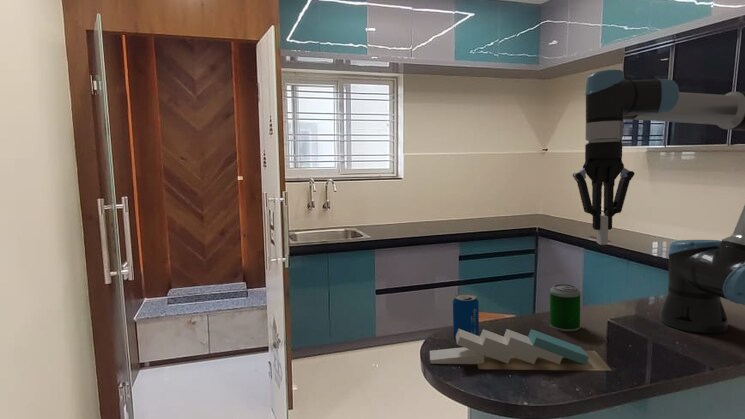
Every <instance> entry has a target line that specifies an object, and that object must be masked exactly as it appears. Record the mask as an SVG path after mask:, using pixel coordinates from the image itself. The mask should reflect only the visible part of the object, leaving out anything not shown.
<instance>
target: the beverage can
mask: <svg viewBox="0 0 745 419" xmlns="http://www.w3.org/2000/svg"><path fill="white" fill-rule="evenodd" d="M477 298H478V296H477V295H475V294H473V293H465V292H463V293H457V294H455V295H454V297H453V299H452V322H453V323H452V324H453V325H452V326H453V339H454V340H456V334H457V332H458V329H461V330H464V331H466V332H469V333H472V334H475V335H477V336H480V321H479V319H480V318H479V317H480V316H479V314H480V313H479V310H480V309H479V300H478V299H477Z"/></svg>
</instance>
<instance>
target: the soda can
mask: <svg viewBox="0 0 745 419" xmlns="http://www.w3.org/2000/svg"><path fill="white" fill-rule="evenodd" d="M549 327H550V328H553V329H554V330H558V331H563V332H573V331H578V330H580V329H581V291H580V289H579V288H578V287H577V286H576V285H572V284H568V283H558V284H554V285H553V286H552V287H551V288H550V289H549Z"/></svg>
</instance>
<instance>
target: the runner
mask: <svg viewBox="0 0 745 419" xmlns="http://www.w3.org/2000/svg"><path fill="white" fill-rule="evenodd" d="M584 351H585V352H586V354H587V355H588V356H589V358H588V361H587V363H586V365H584V364H582V363H579V362H576V361H574V360H571V359H568V358H566V357H563V358H562V360H561V362H560V364H557V363H554V362H551V361H549V360H546V359H543V358H541V357H537V359H536V361H535V364H532V363H529V362H526V361H524V360H521V359H518V358H515V357H513V356H511V358H510V360H509V363H508V364H507V363H504V362H502V361H499V360H496V359H494V358H491V357H488V356H486V355H483V356H484V363H481V364H476V365H477V368H478V370H508V371H509V370H512V371H514V370H515V371H516V370H517V371H519V370H520V371H521V370H522V371H526V370H528V371H533V370H534V371H592V372H593V371H595V372H596V371H599V372H601V371H602V372H603V371H604V372H605V371H606V372H607V371H609V372H610V371H613V369H612V368H611V367H610V366H609V365H608V364H607V363H606V361H605V360H604V359H603V358H602V357H601V356H600V355H599V354H598V352H596V350H584Z"/></svg>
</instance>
